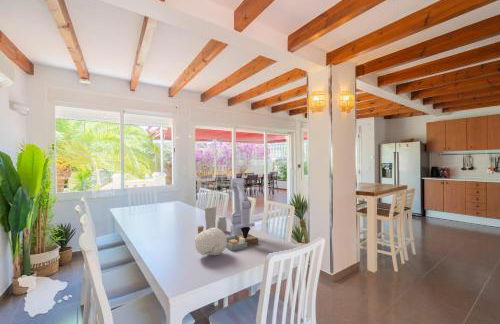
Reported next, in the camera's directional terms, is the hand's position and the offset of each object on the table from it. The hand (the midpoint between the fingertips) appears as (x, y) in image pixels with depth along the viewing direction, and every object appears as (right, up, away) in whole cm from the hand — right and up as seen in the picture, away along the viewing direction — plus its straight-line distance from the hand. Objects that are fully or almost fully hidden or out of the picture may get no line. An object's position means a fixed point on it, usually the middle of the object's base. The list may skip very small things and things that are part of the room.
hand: (245, 237), depth 162 cm
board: (+1, -5, +5) cm, 7 cm away
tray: (-8, -5, -2) cm, 10 cm away
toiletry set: (-26, -5, +24) cm, 36 cm away
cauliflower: (-20, -5, -20) cm, 28 cm away
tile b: (-1, -2, -1) cm, 3 cm away
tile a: (-8, -2, +1) cm, 9 cm away
